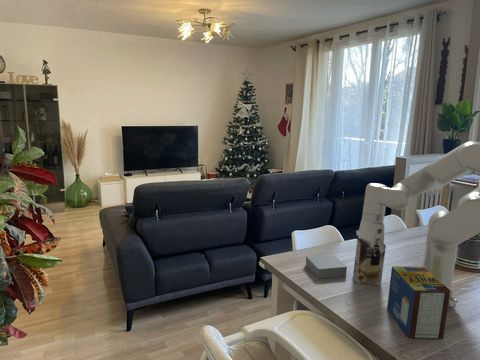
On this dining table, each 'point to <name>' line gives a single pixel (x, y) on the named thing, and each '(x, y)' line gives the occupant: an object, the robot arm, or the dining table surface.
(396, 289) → the protein box
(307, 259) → the pedestal
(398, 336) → the dining table surface
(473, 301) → the dining table surface
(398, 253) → the dining table surface
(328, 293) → the dining table surface
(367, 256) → the coffee box
